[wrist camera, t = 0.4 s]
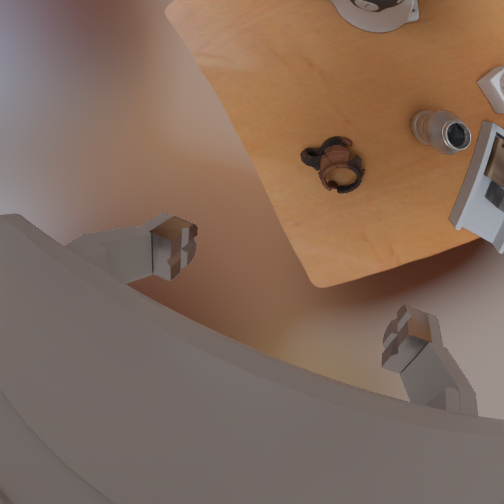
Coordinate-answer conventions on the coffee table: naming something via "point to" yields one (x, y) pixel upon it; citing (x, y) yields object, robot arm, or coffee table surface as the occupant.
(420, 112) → the plastic bottle
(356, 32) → the coffee table surface
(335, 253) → the coffee table surface
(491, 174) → the crate
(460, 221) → the bay
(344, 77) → the coffee table surface
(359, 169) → the broken clay pot
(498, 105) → the medicine bottle
